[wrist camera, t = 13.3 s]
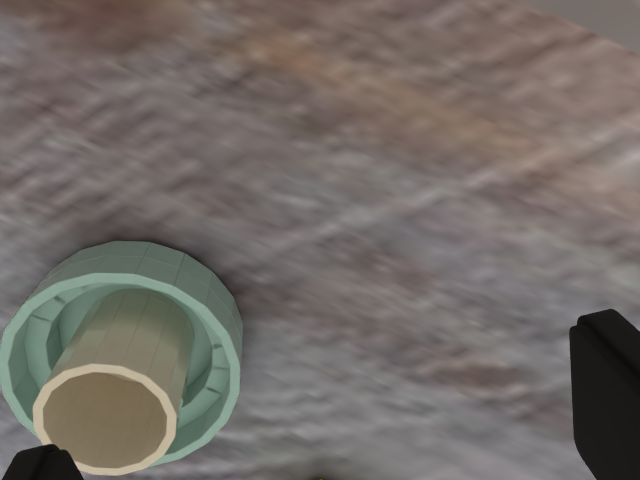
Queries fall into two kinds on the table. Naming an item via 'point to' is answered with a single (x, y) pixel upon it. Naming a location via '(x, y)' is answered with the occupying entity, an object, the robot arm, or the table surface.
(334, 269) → the table surface
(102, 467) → the cup
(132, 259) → the bowl
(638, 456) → the robot arm
